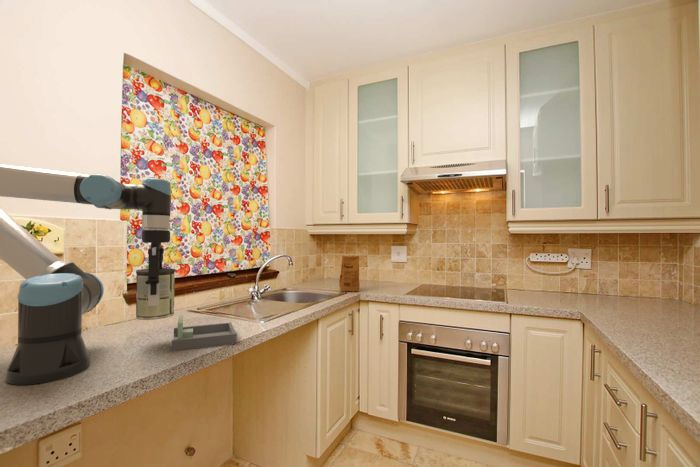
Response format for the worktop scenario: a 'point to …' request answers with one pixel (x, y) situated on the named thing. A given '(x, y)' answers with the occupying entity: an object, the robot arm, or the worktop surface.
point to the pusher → (183, 332)
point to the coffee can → (165, 295)
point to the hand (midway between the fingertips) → (155, 302)
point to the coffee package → (349, 274)
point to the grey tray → (205, 336)
